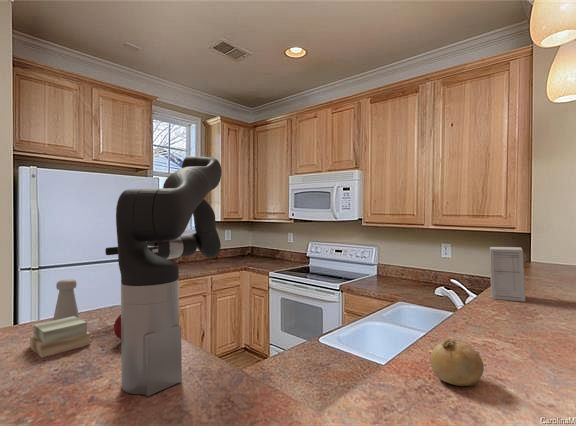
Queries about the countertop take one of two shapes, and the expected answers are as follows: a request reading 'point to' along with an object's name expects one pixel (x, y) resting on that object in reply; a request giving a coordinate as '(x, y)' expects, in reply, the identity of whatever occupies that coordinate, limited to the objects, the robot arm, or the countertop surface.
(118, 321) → the onion
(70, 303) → the salt shaker
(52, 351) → the brick base
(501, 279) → the supplement box
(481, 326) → the countertop surface
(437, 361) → the onion
